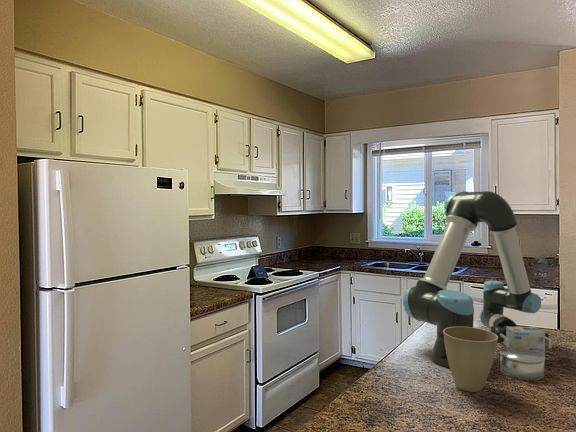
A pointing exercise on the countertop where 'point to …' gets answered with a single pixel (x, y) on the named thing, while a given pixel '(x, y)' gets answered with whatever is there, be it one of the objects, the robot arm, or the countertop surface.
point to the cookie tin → (522, 363)
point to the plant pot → (470, 355)
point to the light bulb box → (526, 338)
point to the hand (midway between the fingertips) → (529, 343)
